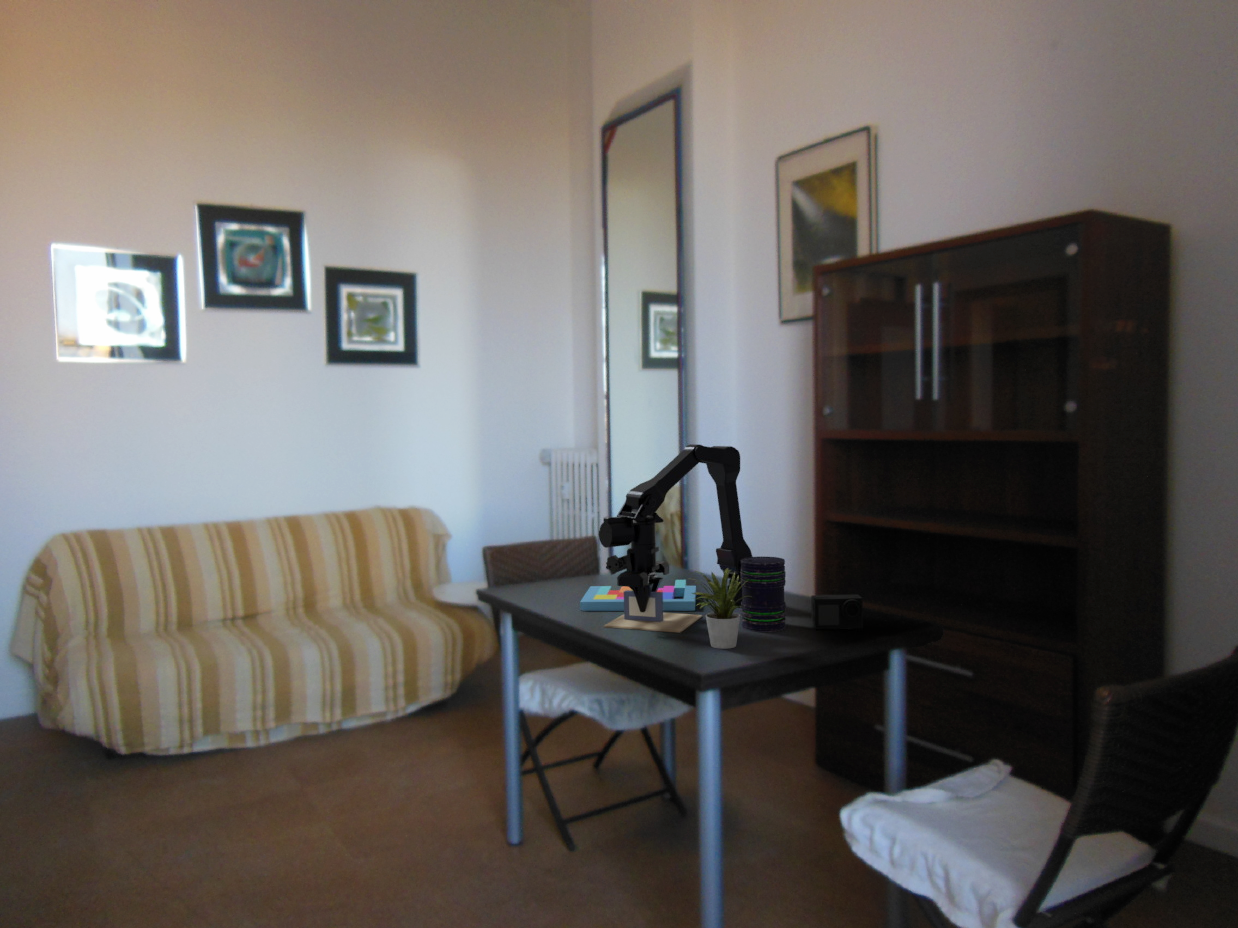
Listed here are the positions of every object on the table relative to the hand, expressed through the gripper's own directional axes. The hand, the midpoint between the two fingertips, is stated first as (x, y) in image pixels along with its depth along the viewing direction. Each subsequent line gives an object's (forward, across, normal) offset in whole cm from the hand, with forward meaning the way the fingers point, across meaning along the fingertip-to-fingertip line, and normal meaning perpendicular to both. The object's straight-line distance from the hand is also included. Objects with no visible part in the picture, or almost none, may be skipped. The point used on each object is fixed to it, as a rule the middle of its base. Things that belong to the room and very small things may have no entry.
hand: (644, 610), depth 206 cm
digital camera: (+3, -6, +43) cm, 43 cm away
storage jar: (+3, -3, +27) cm, 27 cm away
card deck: (+2, 0, 0) cm, 2 cm away
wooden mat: (+3, 0, +2) cm, 3 cm away
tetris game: (+3, -24, -10) cm, 26 cm away
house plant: (+3, +14, +22) cm, 26 cm away
